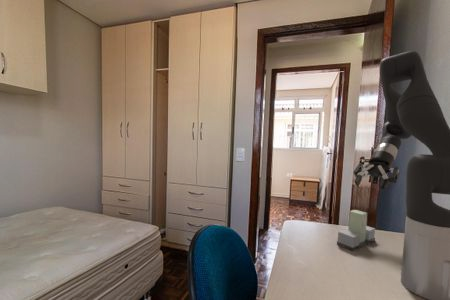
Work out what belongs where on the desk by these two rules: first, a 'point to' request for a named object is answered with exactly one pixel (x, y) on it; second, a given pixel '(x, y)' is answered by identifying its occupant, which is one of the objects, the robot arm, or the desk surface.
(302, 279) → the desk surface
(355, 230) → the block
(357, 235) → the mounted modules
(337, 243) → the dark gray flat board
